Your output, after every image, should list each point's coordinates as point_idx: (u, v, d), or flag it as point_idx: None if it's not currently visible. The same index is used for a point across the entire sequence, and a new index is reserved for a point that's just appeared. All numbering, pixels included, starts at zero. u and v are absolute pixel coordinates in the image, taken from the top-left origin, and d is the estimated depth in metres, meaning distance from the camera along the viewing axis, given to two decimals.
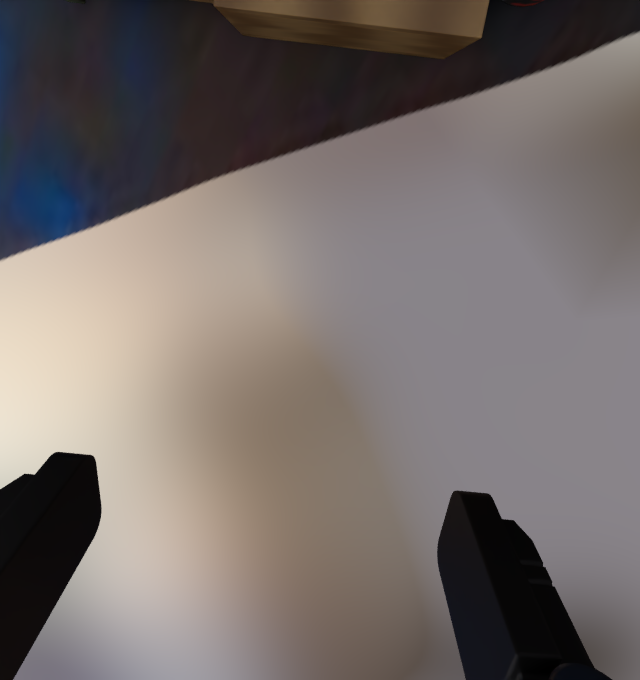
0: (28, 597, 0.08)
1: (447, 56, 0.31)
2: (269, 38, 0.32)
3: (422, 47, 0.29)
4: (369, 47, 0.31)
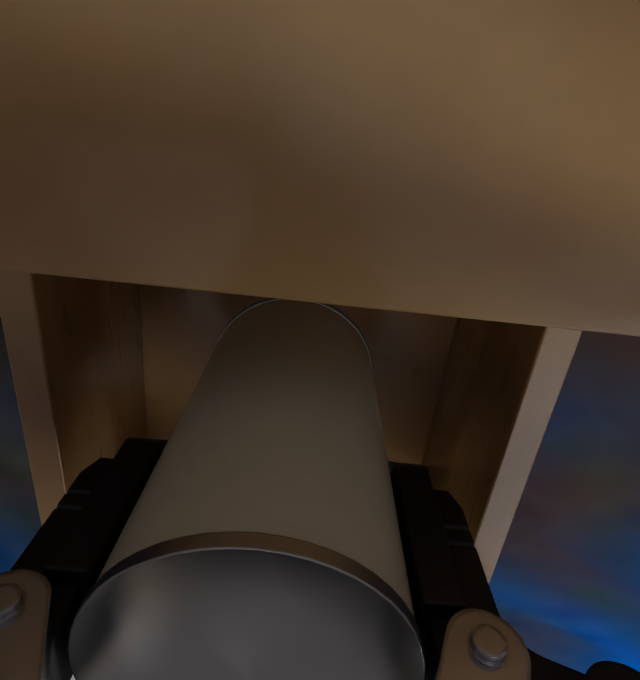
0: None
1: None
2: None
3: None
4: None
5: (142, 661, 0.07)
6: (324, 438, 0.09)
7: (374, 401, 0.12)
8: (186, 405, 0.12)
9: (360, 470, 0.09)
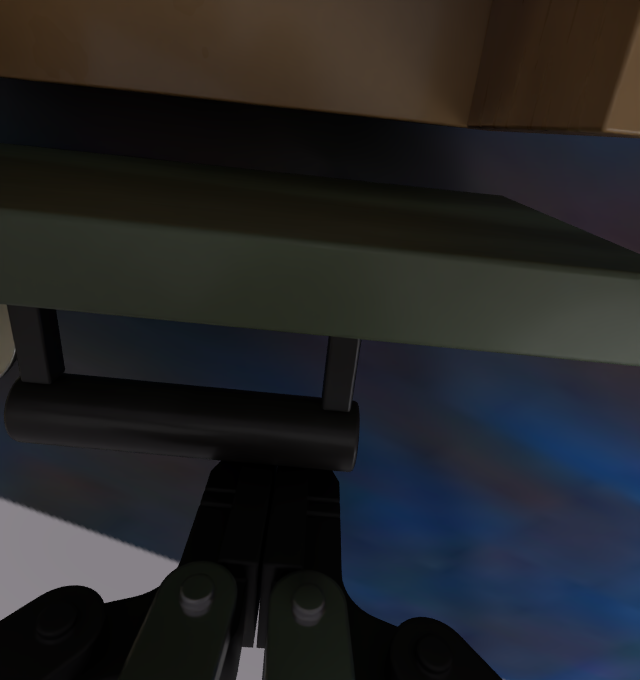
0: (262, 563, 0.09)
1: None
2: None
3: None
4: None
5: None
6: None
7: None
8: None
9: None
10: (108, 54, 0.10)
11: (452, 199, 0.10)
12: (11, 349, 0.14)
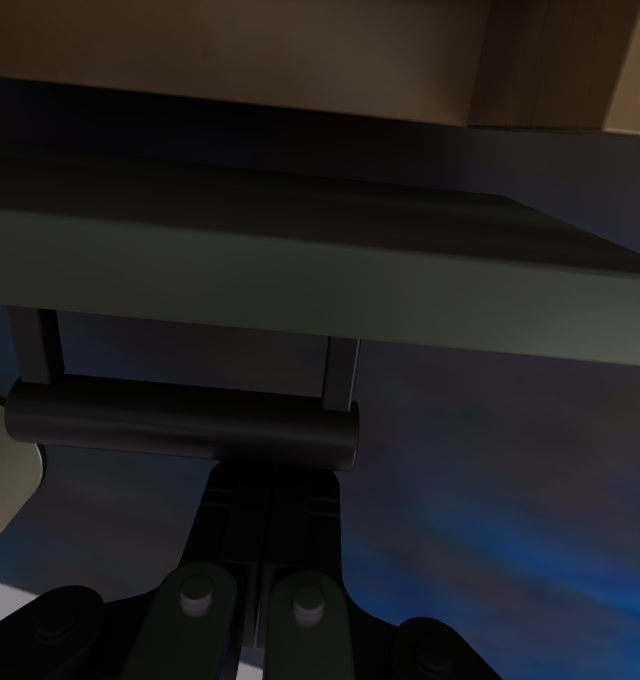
0: (262, 563, 0.09)
1: None
2: None
3: None
4: None
5: None
6: None
7: None
8: None
9: None
10: (107, 54, 0.10)
11: (452, 199, 0.10)
12: (37, 480, 0.17)
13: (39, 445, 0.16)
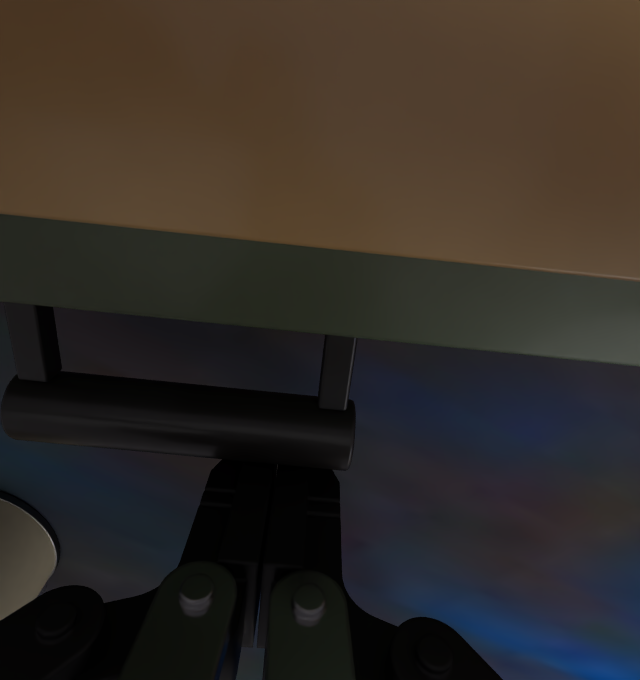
0: (262, 562, 0.09)
1: None
2: None
3: None
4: None
5: None
6: None
7: None
8: None
9: None
10: None
11: None
12: (52, 569, 0.18)
13: (54, 539, 0.18)
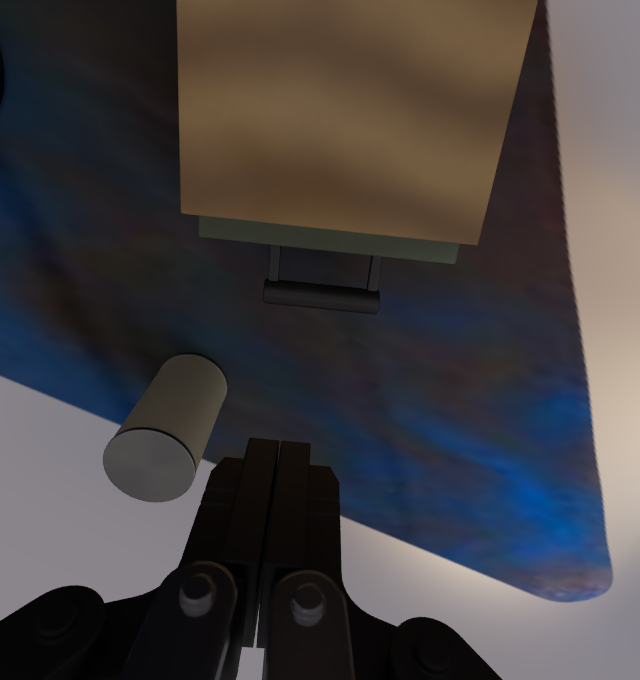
0: (262, 562, 0.09)
1: None
2: None
3: None
4: None
5: (121, 463, 0.28)
6: (176, 408, 0.30)
7: (210, 397, 0.33)
8: None
9: (185, 416, 0.30)
10: None
11: None
12: (224, 398, 0.37)
13: (226, 382, 0.37)
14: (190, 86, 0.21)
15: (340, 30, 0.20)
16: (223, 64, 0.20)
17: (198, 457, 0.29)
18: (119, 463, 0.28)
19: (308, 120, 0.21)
